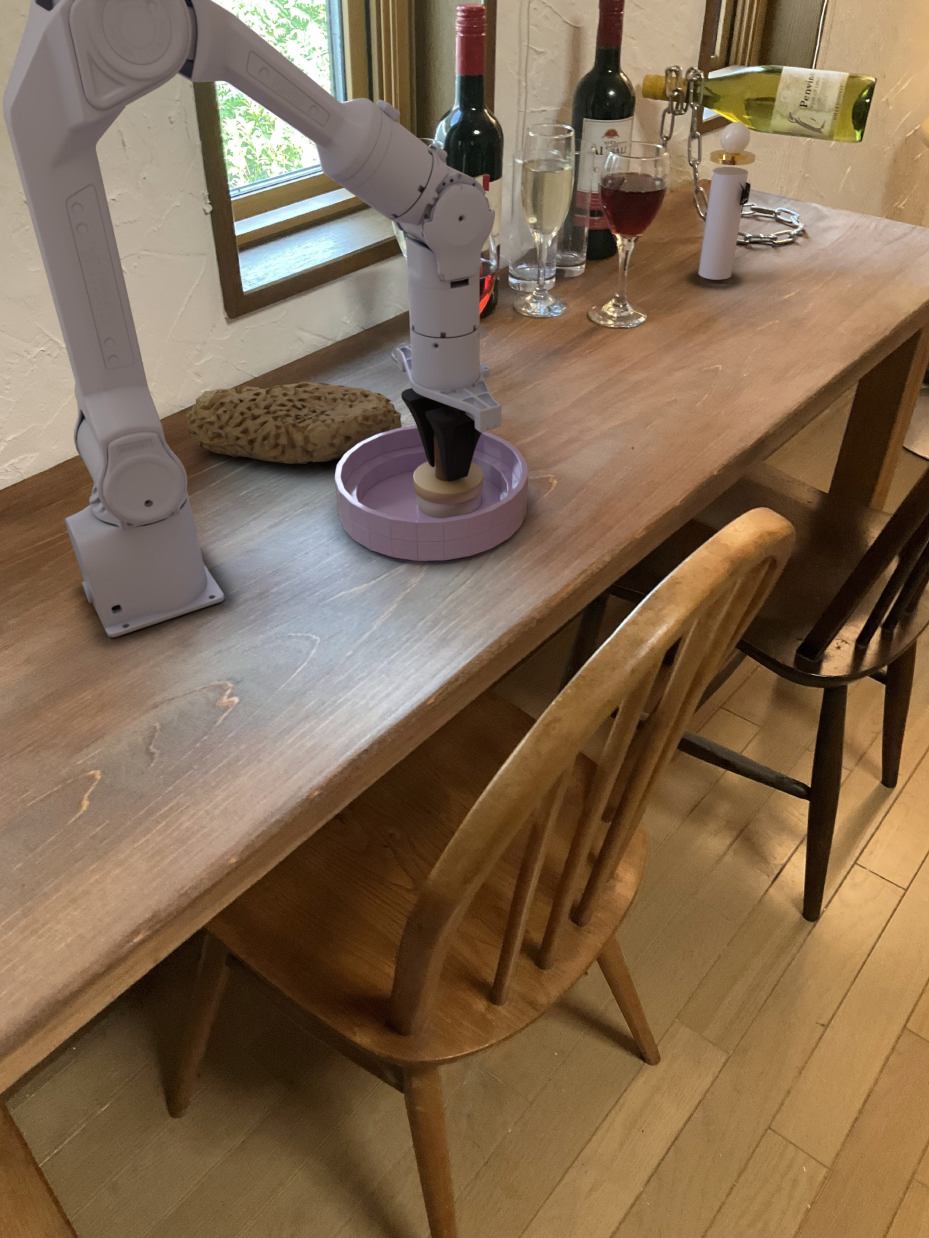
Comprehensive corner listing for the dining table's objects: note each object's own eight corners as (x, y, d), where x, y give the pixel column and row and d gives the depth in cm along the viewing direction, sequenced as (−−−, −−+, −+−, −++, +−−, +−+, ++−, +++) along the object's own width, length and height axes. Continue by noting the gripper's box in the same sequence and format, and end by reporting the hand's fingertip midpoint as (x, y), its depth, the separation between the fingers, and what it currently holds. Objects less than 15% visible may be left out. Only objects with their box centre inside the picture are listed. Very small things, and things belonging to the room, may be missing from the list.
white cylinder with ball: (690, 284, 133) (712, 126, 121) (695, 270, 138) (717, 116, 125) (733, 288, 132) (759, 128, 119) (736, 274, 136) (762, 118, 124)
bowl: (393, 589, 80) (389, 544, 77) (310, 496, 91) (304, 454, 88) (563, 528, 86) (565, 485, 83) (465, 449, 98) (465, 409, 95)
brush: (435, 527, 86) (433, 460, 81) (402, 495, 90) (398, 429, 86) (496, 507, 88) (497, 441, 84) (461, 476, 92) (460, 412, 88)
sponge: (188, 476, 97) (354, 478, 88) (168, 398, 94) (339, 393, 85) (266, 441, 107) (421, 440, 98) (251, 370, 104) (410, 362, 95)
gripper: (535, 344, 75) (529, 493, 84) (443, 288, 85) (447, 427, 93) (457, 364, 72) (460, 517, 81) (371, 304, 82) (382, 445, 91)
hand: (448, 470), depth 87 cm, fingers closed on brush, 2 cm apart
